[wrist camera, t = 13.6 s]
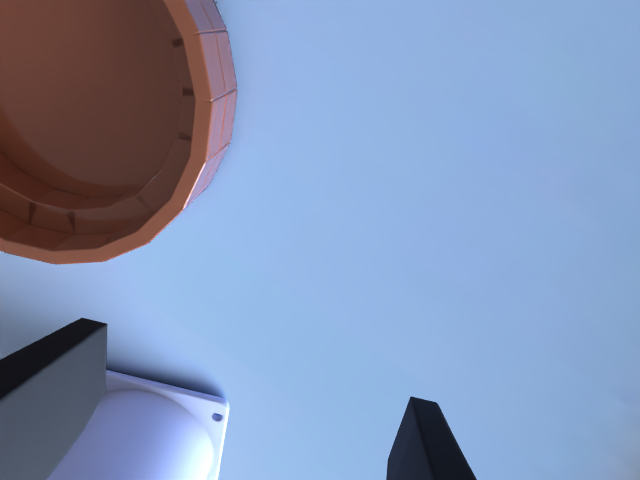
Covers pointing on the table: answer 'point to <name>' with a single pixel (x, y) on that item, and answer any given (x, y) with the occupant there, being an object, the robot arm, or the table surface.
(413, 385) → the table surface
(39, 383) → the robot arm
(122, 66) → the bowl
